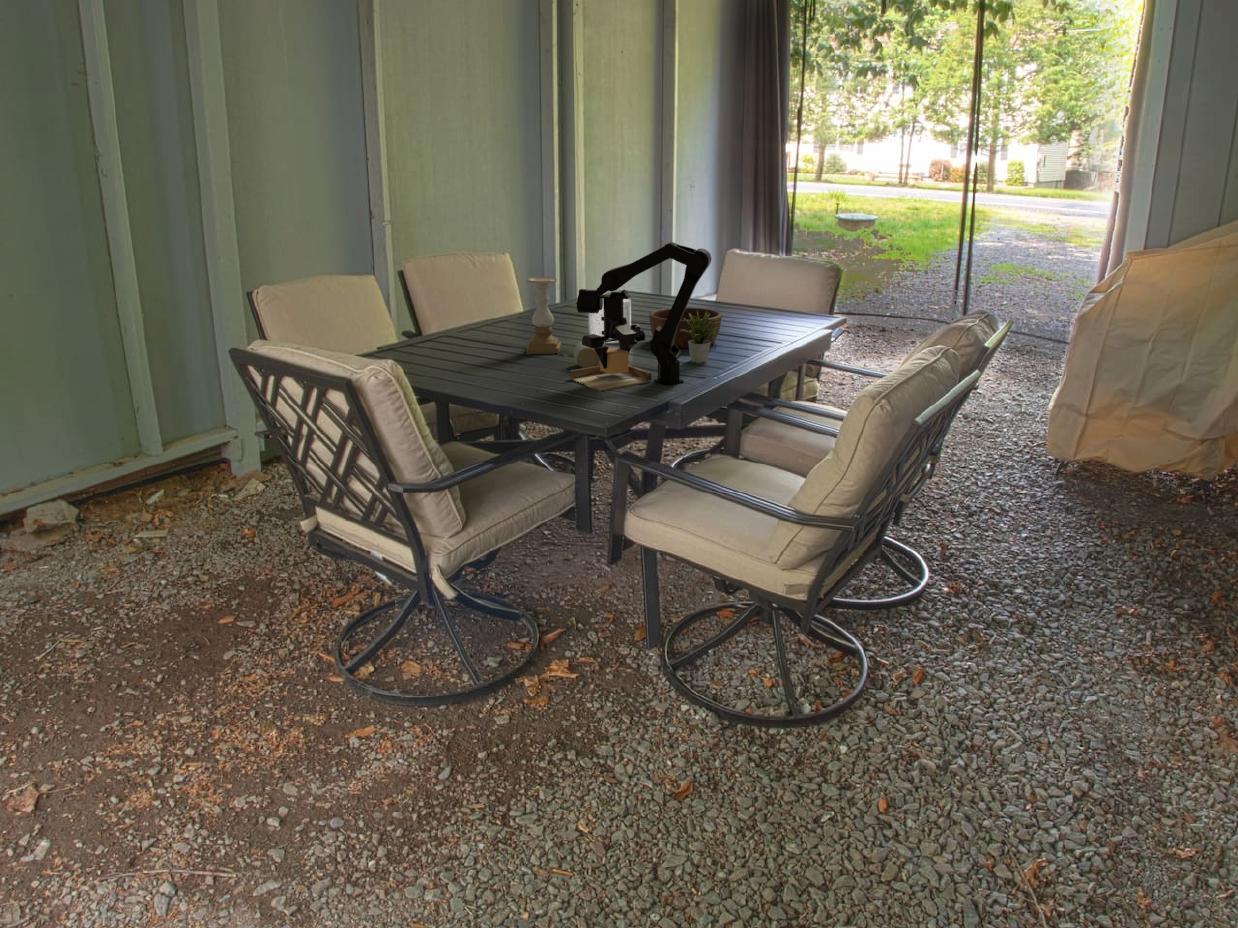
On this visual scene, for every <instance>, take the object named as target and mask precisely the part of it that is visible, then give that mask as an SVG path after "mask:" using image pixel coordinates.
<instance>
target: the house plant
mask: <svg viewBox="0 0 1238 928" xmlns="http://www.w3.org/2000/svg"><path fill="white" fill-rule="evenodd" d="M709 315H710V314H708V315H707V311H706V313H705V315H704V317H703V319H702V321H701V322H700V316H699V313H698V311H697V317H696V316H694V317H695V318H696V320H695V318H694V317H693V316H692V315H691V314H690V313H689V316H690V319H691V323H692V325H691V324H690V322H689V321H687V320H686V319H685V318H684V319H685V320H686V322H687V323H688V324H689V325H690V327H691V329H692V330H689V331H688V330H685V329H682V330H680V331H686V332H688V333H690V334H691V335H692V336H693V338H694V340H690V341H688V344H689V348H688V350H689V358H690V362H691V361H692V363H694V362H696V363H695V364H703V363H702V362H705V363H707V362H708V358H709V354H710V348H711V345H710V343H711V342H710V341H708V340H705V339H706V338H707V336H708V335H709V336H710V335H711V334H712V333H714V332H715V331H714V329H716V328H714V329H711V331H709V332H707V331H708V330H710V329H708V328H709V327H710V325H712V324H714V323H718V322H714V321H716V320H719V319H717V318H719V317H716V318H713V320H712V321H713V322H714V323H713V322H712V321H711V320H710V321H709V322H708V323H707V321H708V318H709ZM720 317H723V315H722V316H720ZM715 319H716V320H715ZM711 322H712V323H711ZM706 323H707V325H706ZM707 326H709V327H708V328H707ZM706 328H707V329H706ZM718 328H719V327H718ZM705 329H706V330H705ZM706 332H707V333H706ZM705 333H706V334H705ZM710 333H711V334H710ZM714 334H716V333H714ZM704 335H705V336H704ZM716 335H717V334H716Z"/></svg>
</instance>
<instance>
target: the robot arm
mask: <svg viewBox="0 0 1238 928" xmlns="http://www.w3.org/2000/svg"><path fill="white" fill-rule="evenodd" d="M669 259H671V260H674V261H676V262H678V263H680V264H683V265H685V269H684V270H685V271H684V276H683V281H682V283H681V285H680V288H679V289H678V292H677V294H676V297H675V299H674V301H673V304H672V305H671V307H670V308H671V310H670V313H669V315H668V317H667V319H666V322H665V324H664V326H663V327H661V326H658V327H657V328H656V329H655V331H654V335H652V338H651V340H650V341H649V344H650V343H651V344H650V348H649V349H650V351H651V354H652V355H653V356H654V357H655V358H656V360H657V378H653V381H654V382H656V383H659V384H662V385H665V386H671V385H675V384H680V383H684V382H685V380H684V379H681V377H680V375H681V373H680V372H681V369H680V368H681V365H680V363H681V362H680V360H678V359H679V358H680V356H681V354H682V351H681V350H680V348H677V347H676V346H675V345H674V342H675V338H676V333H677V328H678V325H679V323H680V320H681V318H682V316H683V314H684V311H685V309H686V308H688V307H687V306H688V304H689V302H690V300H691V297H692V295H693V294H694V292H695V288H696V286H697V284H698V283H699V281H700V280H701V278H702V277H703V275H704V274H705V273H706V271H707V269H708V268H709V267H710V265H711V264H712V256H711V253H710V252H709V251H708V250H707V249H705V248H698V249H696V248H692V247H688V246H685V245H682V244H677V243H676V242H671V241H670V242H668V243H666V244H665V245H663V246H661V247H660V248H657V249H656V250H653V251H652V252H650V253H648V254H647V255H644V256H642V257H640V258H639V259H636V260H635V261H633V262H631V263H628V264H623V265H620V266H617V267H614V268H611V269H608V270H607V271H605V272H604V273H603V274H602V276H601V278H600V280H601V282H600V284H599V286H598V287H597V288H596V289H586V288H580V289H578V296H577V301H576V311H577V313H578V314H599V312H600V311H602V310H603V316H601V317H600V318H601V319H600V320H601V321H603V330H601V335H598V334H595V333H591V334H586V335H585V334H584V335H583V336H582V337H581V341H582V345H584V346H587V347H590V348H594V350H595V351H596V353H597V355H598V357H599V359H600V361H601V363H602V365H603V368H604V369H607V350H608V349H610V347H609V346H608V345H607V343H610V342H617V341H618V344H619V345H618V346H619V349H622V350H625V351H628V356H629V354H630V351H631V350H632V348H633V347H634V346H635V345H638V343H639V342H642V341H643V342H644V341H646V333H645V331H644V330H642V329H641V326H640V324H638V323H635V324H632V325H631V324H630V325H628V321H627V320H628V319H627V317H624V300H628V299H630V297H631V294H629V293H628V291H627V290H626V289H625V288H624V289H623V290H621V291H619V292H618V289H620V288H621V287H623V286H624V285H626V284H627V283H628V282H629V281H630V280H632V279H633V278H634V277H636V276H638V275H640V274H641V273H644V272H646V271H647V270H650V269H652V268H653V267H656V266H657V265H659V264H661V263H663V262H665V261H668V260H669ZM608 292H610V294H605V293H608Z"/></svg>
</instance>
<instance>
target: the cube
mask: <svg viewBox="0 0 1238 928" xmlns="http://www.w3.org/2000/svg"><path fill="white" fill-rule="evenodd" d="M628 365H629V355H628V351H625V350H622V349H620V347H619V348H618V347H613V348H608V350H607V369H604V368H603V365H602V363H601V361H600V365H599V366H600V371H603V372H606V373H608V374H611V375H612V374H617V373H623V372H628Z"/></svg>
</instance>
